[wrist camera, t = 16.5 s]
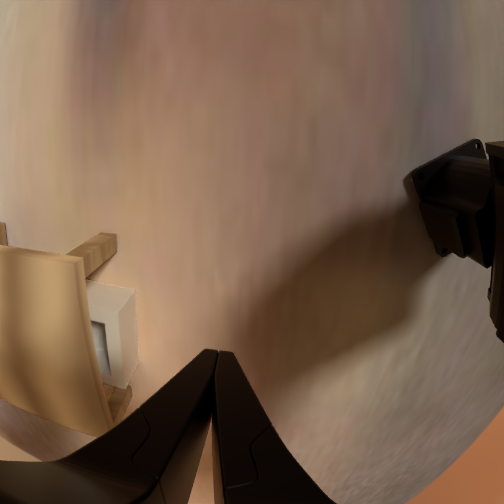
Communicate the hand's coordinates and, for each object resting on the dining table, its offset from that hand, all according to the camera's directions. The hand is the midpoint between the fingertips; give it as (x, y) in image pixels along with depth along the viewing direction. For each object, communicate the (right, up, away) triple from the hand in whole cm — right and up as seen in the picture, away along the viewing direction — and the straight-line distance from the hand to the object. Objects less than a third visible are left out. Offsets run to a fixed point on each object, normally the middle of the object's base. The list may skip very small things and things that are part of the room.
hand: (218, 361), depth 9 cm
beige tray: (-12, -2, +13) cm, 18 cm away
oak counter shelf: (-15, -2, +13) cm, 19 cm away
